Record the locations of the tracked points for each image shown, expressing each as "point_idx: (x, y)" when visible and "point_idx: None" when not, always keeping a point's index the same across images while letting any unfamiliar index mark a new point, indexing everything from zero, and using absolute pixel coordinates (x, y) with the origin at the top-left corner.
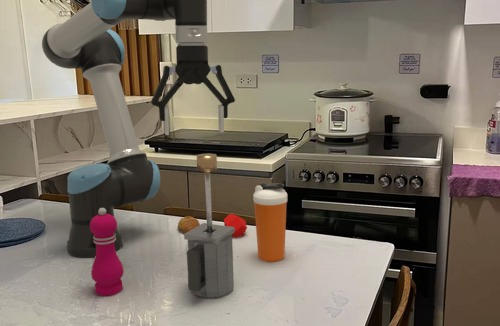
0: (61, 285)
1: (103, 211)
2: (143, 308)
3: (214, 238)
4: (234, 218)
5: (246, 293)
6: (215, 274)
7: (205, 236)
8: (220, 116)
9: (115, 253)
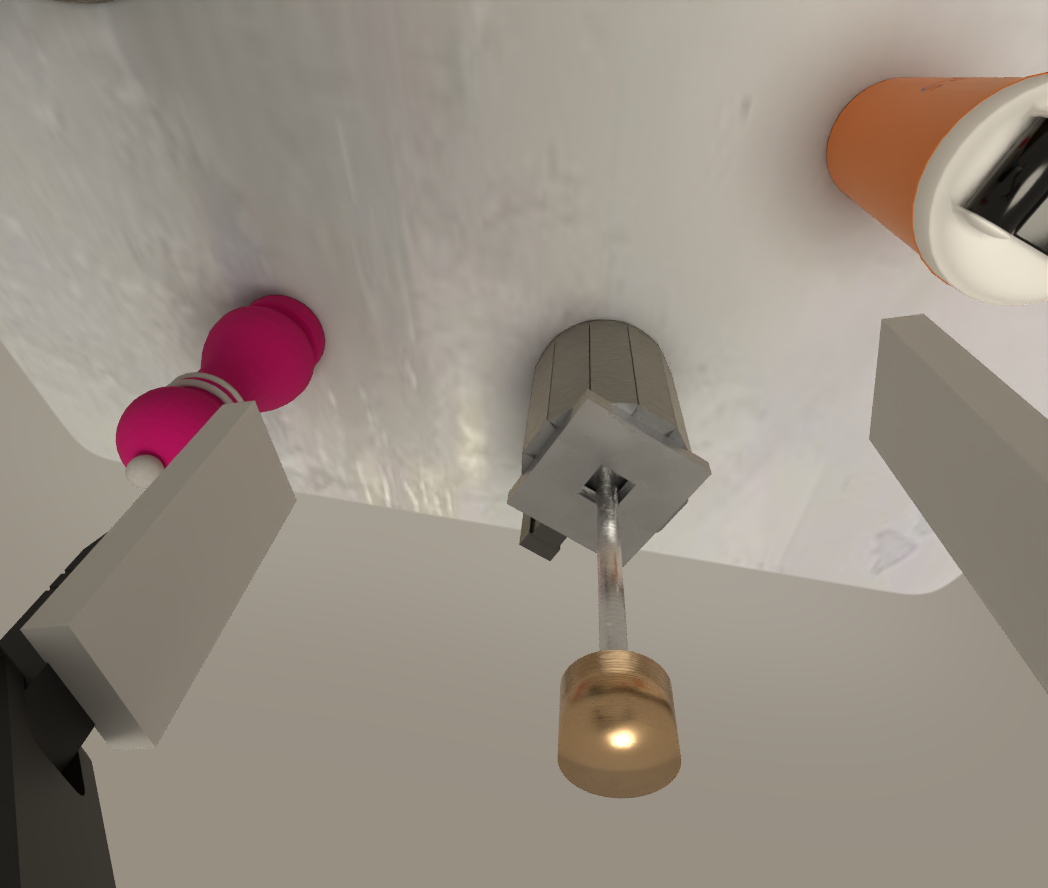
0: (116, 273)
1: None
2: (411, 456)
3: None
4: None
5: (698, 427)
6: None
7: (585, 538)
8: (959, 550)
9: (265, 392)
